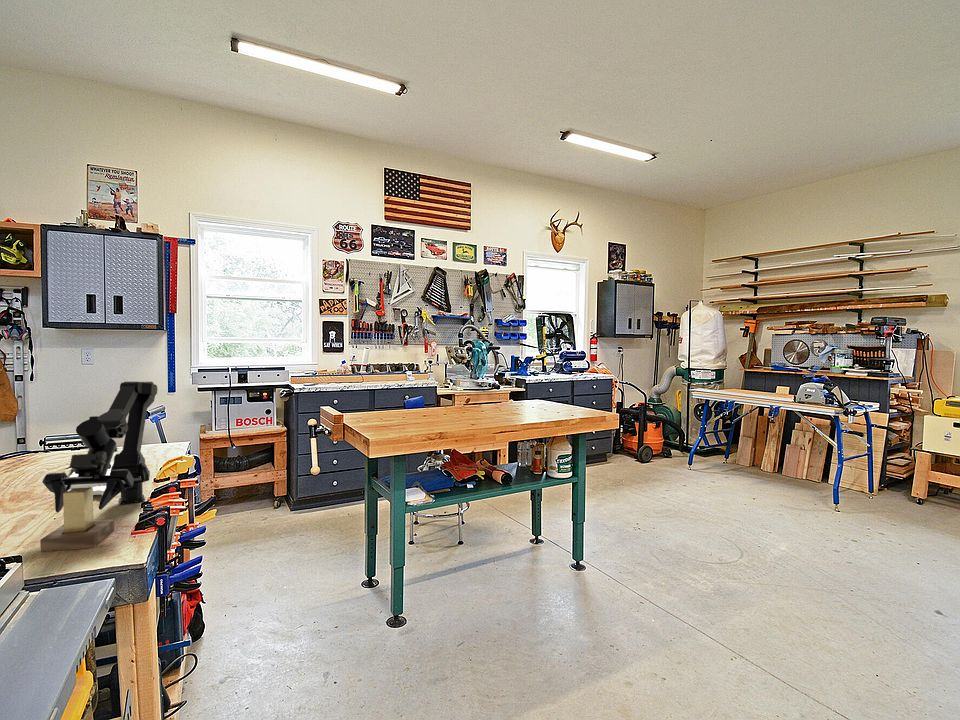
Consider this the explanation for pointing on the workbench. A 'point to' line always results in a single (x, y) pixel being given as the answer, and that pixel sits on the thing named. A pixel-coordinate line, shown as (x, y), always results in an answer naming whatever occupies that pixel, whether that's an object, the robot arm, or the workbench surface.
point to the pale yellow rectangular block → (78, 510)
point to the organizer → (96, 487)
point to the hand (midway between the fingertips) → (78, 510)
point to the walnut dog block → (77, 537)
